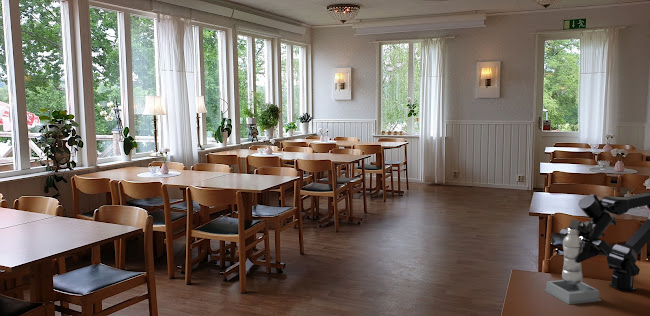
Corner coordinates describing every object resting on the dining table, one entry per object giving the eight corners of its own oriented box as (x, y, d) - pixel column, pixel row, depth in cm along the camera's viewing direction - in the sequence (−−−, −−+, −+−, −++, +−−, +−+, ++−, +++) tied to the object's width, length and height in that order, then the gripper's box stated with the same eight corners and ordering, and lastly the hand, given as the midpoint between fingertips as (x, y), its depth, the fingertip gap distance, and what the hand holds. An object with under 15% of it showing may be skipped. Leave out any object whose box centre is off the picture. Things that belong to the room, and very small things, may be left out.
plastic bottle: (586, 285, 174) (588, 229, 172) (569, 287, 173) (570, 231, 171) (574, 278, 181) (576, 224, 178) (557, 280, 180) (558, 226, 177)
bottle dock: (575, 287, 185) (575, 278, 184) (601, 300, 172) (602, 291, 172) (544, 290, 182) (544, 281, 182) (568, 304, 169) (569, 294, 169)
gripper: (564, 206, 184) (538, 238, 182) (606, 217, 166) (578, 253, 164) (580, 225, 187) (555, 257, 185) (623, 238, 169) (596, 273, 167)
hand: (570, 259), depth 175 cm, fingers closed on plastic bottle, 6 cm apart
